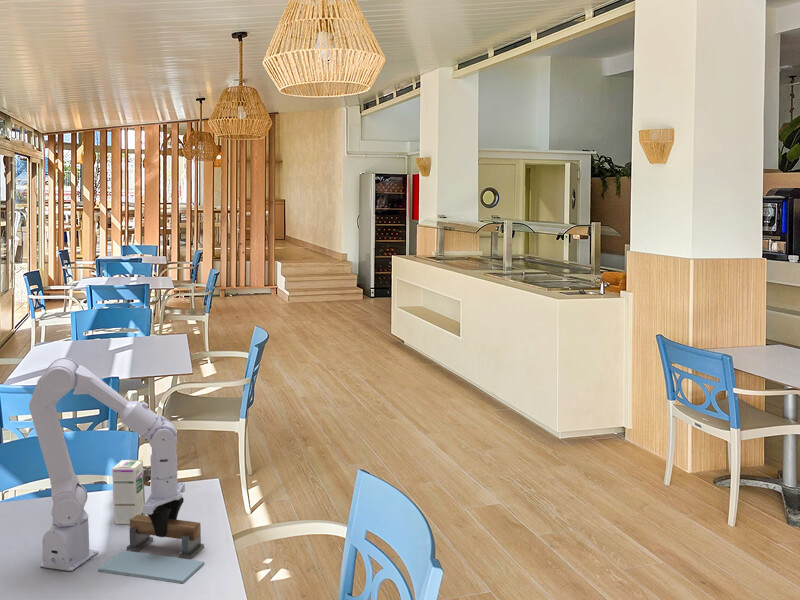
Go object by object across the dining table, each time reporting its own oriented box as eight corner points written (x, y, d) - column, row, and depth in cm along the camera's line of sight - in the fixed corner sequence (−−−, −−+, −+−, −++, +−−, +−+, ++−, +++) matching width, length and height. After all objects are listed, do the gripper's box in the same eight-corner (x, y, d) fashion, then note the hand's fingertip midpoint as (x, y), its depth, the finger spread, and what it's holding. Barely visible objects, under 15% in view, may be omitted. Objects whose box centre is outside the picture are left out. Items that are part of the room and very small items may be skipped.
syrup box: (137, 525, 188) (136, 467, 186) (113, 524, 188) (111, 466, 186) (145, 515, 193) (144, 459, 191) (122, 515, 193) (120, 459, 192)
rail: (194, 540, 171) (193, 527, 171) (130, 532, 175) (129, 519, 175) (200, 535, 174) (200, 522, 174) (137, 527, 178) (137, 514, 177)
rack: (190, 558, 170) (190, 537, 169) (126, 550, 174) (126, 528, 173) (204, 547, 176) (203, 526, 175) (141, 539, 180) (141, 518, 179)
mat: (183, 583, 159) (182, 580, 159) (98, 571, 164) (97, 568, 164) (204, 564, 168) (204, 561, 168) (122, 552, 172) (122, 550, 172)
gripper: (162, 488, 165) (163, 548, 166) (196, 466, 179) (197, 522, 180) (133, 484, 167) (134, 544, 168) (169, 463, 181) (170, 519, 182)
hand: (165, 532), depth 174 cm, fingers closed on rail, 3 cm apart
